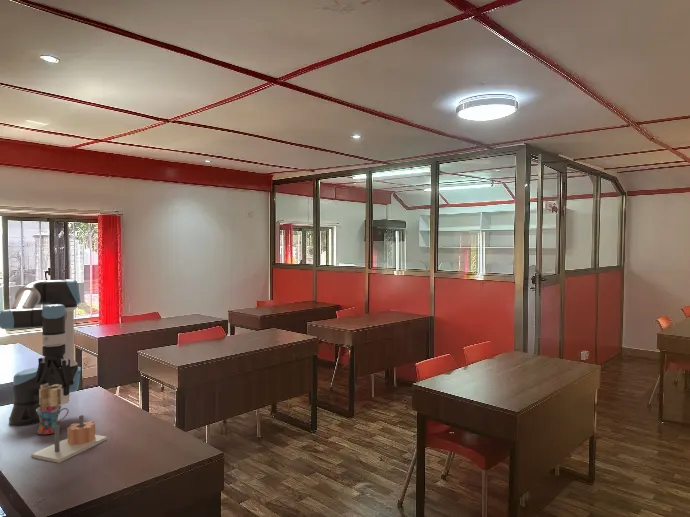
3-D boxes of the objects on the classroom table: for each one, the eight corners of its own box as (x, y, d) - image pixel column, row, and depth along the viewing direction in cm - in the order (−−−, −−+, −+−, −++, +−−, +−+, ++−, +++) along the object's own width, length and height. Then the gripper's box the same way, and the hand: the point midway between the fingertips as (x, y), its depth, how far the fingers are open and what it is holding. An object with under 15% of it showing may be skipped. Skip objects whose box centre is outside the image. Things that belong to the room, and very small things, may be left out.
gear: (33, 405, 175) (32, 389, 175) (56, 397, 185) (56, 382, 184) (51, 408, 172) (51, 392, 172) (75, 400, 181) (75, 385, 181)
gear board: (31, 457, 176) (31, 428, 176) (81, 435, 197) (80, 409, 197) (59, 462, 172) (58, 433, 172) (106, 439, 193) (106, 413, 192)
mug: (36, 438, 194) (36, 413, 193) (35, 430, 201) (35, 406, 201) (69, 431, 201) (69, 407, 200) (67, 424, 208) (67, 401, 208)
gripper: (23, 344, 178) (24, 402, 178) (66, 348, 171) (67, 408, 171) (42, 341, 185) (42, 396, 186) (84, 344, 178) (84, 402, 178)
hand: (54, 402), depth 178 cm, fingers closed on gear, 10 cm apart
